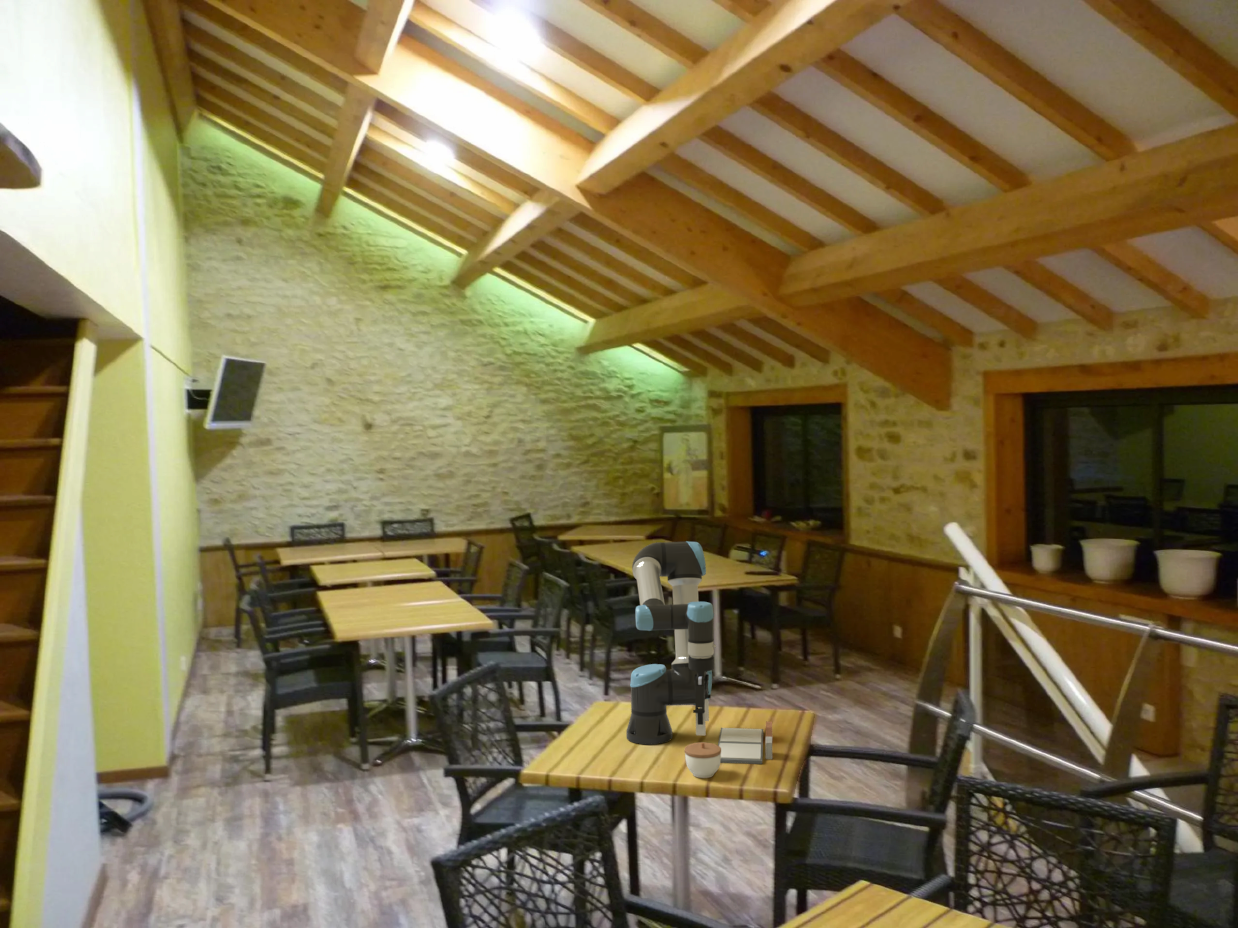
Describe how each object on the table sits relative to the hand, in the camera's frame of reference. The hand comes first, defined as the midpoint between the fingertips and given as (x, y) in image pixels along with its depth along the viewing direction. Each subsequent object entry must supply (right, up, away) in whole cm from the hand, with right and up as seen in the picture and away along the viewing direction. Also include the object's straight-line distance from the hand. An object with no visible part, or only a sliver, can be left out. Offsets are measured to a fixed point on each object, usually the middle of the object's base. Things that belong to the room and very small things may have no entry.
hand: (702, 727), depth 279 cm
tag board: (+16, -13, +24) cm, 31 cm away
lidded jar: (0, -14, +1) cm, 14 cm away
